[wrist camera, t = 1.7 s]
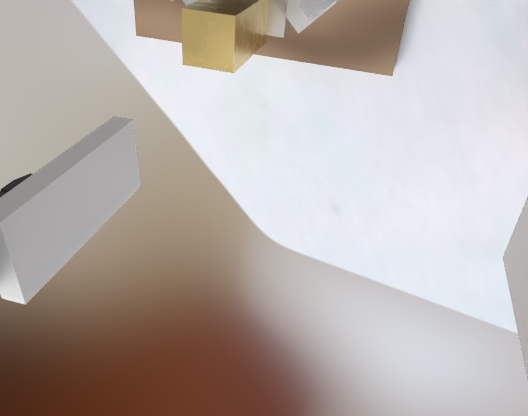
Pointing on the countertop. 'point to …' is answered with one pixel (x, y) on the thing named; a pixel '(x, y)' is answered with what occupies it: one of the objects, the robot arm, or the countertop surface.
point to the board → (309, 33)
